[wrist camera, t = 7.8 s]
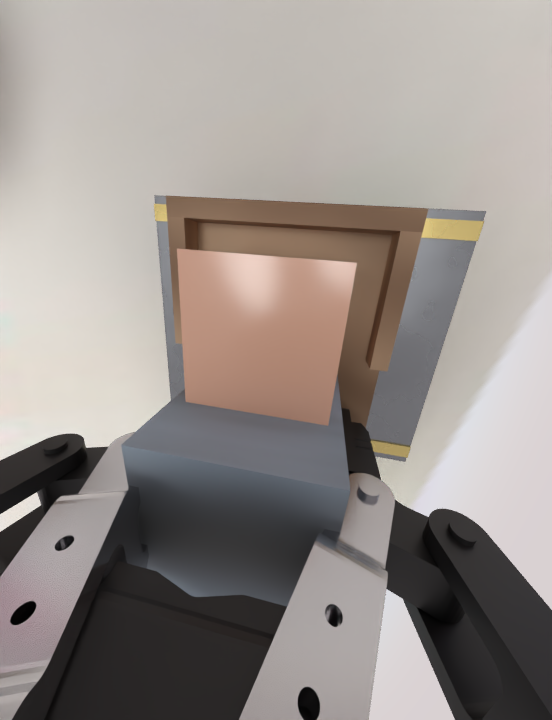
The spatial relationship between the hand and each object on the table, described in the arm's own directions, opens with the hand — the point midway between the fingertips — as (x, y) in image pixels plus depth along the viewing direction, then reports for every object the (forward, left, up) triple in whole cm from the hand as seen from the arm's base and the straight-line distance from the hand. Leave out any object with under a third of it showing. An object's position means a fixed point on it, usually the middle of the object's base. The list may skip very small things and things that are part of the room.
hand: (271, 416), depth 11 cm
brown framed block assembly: (-2, 0, -3) cm, 3 cm away
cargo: (-4, 0, 0) cm, 4 cm away
